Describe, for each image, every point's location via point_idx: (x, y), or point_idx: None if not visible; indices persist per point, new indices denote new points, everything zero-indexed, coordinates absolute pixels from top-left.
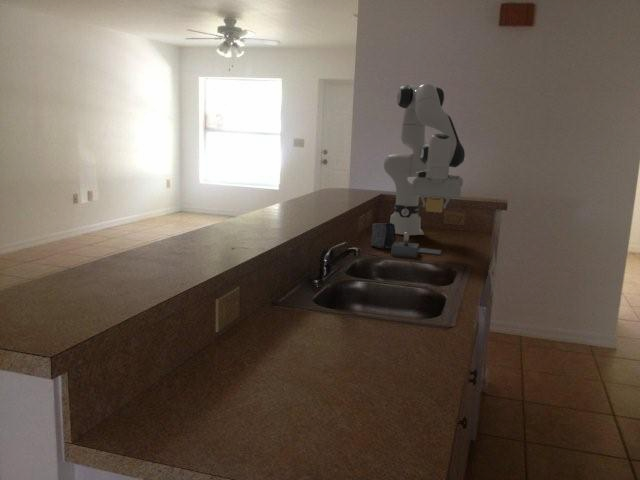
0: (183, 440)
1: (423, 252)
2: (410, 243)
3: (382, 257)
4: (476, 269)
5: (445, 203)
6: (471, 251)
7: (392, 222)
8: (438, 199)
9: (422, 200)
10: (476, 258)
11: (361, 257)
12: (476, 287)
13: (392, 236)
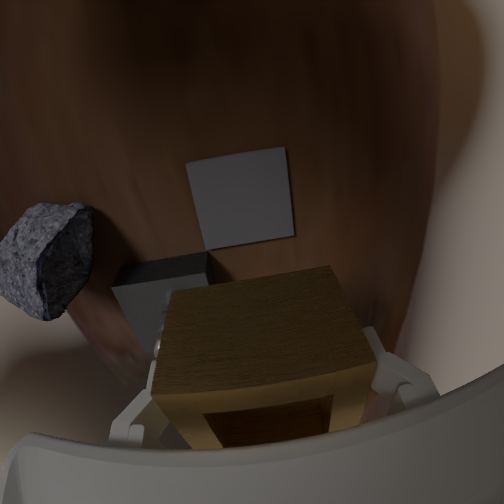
0: None
1: (226, 246)
2: (174, 288)
3: (150, 359)
4: (392, 333)
5: (376, 389)
6: (396, 65)
7: None
8: (309, 392)
9: (153, 430)
10: (414, 198)
11: (118, 378)
12: (365, 416)
13: (60, 220)
